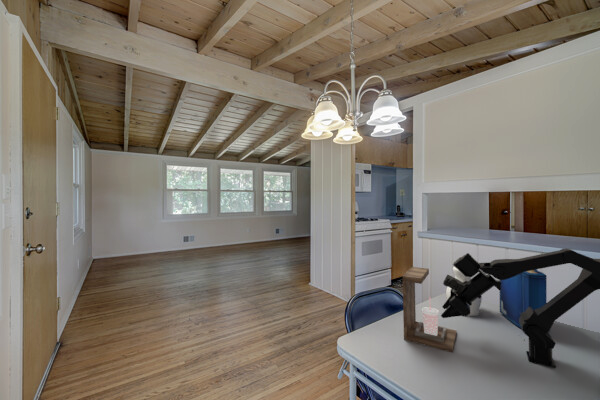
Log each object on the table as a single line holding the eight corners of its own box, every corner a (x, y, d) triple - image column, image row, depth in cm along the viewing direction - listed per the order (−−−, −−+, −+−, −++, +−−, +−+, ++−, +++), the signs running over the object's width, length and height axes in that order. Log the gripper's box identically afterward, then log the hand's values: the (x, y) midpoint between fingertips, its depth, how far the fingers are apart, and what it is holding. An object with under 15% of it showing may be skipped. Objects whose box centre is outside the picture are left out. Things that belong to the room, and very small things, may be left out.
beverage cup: (424, 328, 108) (423, 293, 108) (441, 332, 104) (440, 296, 104) (419, 334, 103) (418, 297, 103) (437, 339, 99) (436, 301, 99)
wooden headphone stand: (452, 352, 92) (451, 282, 92) (403, 339, 101) (402, 275, 101) (456, 333, 105) (455, 271, 106) (413, 323, 114) (412, 266, 115)
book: (551, 339, 100) (549, 271, 100) (529, 337, 101) (527, 271, 101) (516, 314, 121) (515, 259, 121) (499, 313, 122) (497, 258, 123)
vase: (476, 306, 131) (475, 265, 131) (486, 318, 117) (485, 273, 117) (443, 303, 135) (442, 263, 135) (450, 315, 122) (449, 271, 122)
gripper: (457, 263, 107) (427, 287, 112) (457, 275, 91) (422, 302, 96) (482, 286, 103) (450, 310, 108) (486, 302, 87) (448, 329, 92)
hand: (442, 312), depth 101 cm, fingers open, 9 cm apart
